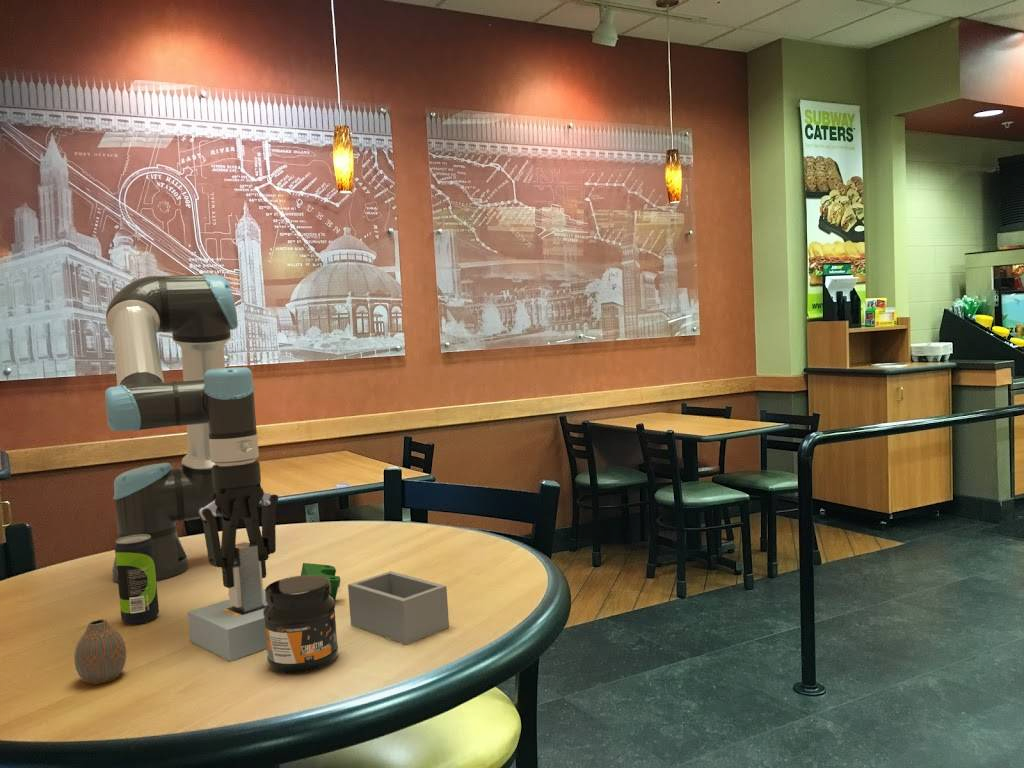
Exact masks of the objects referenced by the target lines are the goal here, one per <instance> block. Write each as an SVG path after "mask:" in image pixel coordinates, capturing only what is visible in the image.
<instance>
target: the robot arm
mask: <svg viewBox="0 0 1024 768" xmlns="http://www.w3.org/2000/svg"><path fill="white" fill-rule="evenodd" d="M234 299H235V298H234V294H233V291H232V288H231V285H230V283H229V281H228V279H227V277H224V276H222V275H217V274H213V275H212V274H205V273H203V274H182V275H161V276H160V275H149V276H145V277H141V278H138V279H135V280H133V281H131V282H130V283H128V284H127V285H125V286H124V287H122V288H121V289H120V290H119V291H118V292H117V293H116V294H115V295H114V296H113V297H112V298H111V301H110V302H109V304H108V306H107V308H106V313H105V321H106V328H107V331H108V332H109V334H110V336H112V337H113V339H112V340H113V349H114V350H113V351H114V362H115V373H116V374H115V375H116V386H111V387H108V388H106V390H105V392H104V394H105V395H104V397H105V409H106V420H107V426H108V429H110V430H111V431H113V432H123V431H124V432H126V431H128V432H129V431H133V432H136V431H137V432H138V431H141V430H150V429H157V428H158V429H159V428H160V429H161V428H168V427H180V426H186V435H187V436H186V437H187V449H188V452H187V454H186V455H184V456H183V457H182V459H181V467H178V468H173V466H172V465H171V463H169V462H162V463H153V464H147V465H144V466H141V467H140V466H139V467H136V468H134V469H130V470H127V471H124V472H122V473H120V474H119V475H118V476H116V477H115V479H114V482H113V491H114V493H113V496H112V497H113V498H112V499H113V500H114V501H115V502H114V503H115V516H116V527H117V537H118V538H117V539H119V538H122V537H126V536H131V535H139V534H147V535H150V536H151V538H150V539H151V540H152V541H153V551H154V562H155V573H156V581H160V580H164V579H168V578H172V577H174V576H177V575H180V574H183V573H184V572H185V571H187V570H188V569H189V560H188V559H189V558H188V555H187V553H186V551H185V549H184V547H183V544H182V542H181V540H180V538H179V536H178V532H177V530H178V529H177V523H178V522H184V521H191V520H192V521H193V520H198V519H200V520H201V522H202V526H203V533H204V534H203V535H204V539H205V546H206V553H207V557H208V563H209V565H210V566H212V567H213V566H214V567H216V568H221V573H222V584H223V586H224V587H225V588H227V589H228V596H229V599H228V600H230V605H233V606H235V607H241V606H242V601H241V589H240V577H239V567H237V566H234V557H235V545H236V544H237V543H236V542H237V527H238V525H239V520H240V519H241V520H243V522H244V525H245V529H246V534H247V537H248V538H247V539H248V543H250V544H254V545H257V547H258V559H259V572H260V584H261V596H262V600H264V594H263V589H264V584H263V579H265V578H266V577H267V567H266V566H267V565H266V561H268V559H269V558H270V557H269V555H271V554H274V553H276V550H277V548H276V545H277V543H276V541H277V540H276V539H277V538H276V537H277V536H276V530H277V529H276V528H277V527H276V508H277V505H278V501H279V496H278V494H274V493H267V492H265V491H264V489H263V487H262V486H261V481H262V479H261V478H262V477H261V465H260V462H259V460H257V458H258V457H259V456H260V455H259V454H260V453H259V442H258V431H257V419H256V417H257V416H256V403H255V402H256V401H255V390H256V389H255V384H254V380H253V372H252V370H251V369H250V368H248V367H244V366H243V367H241V366H240V367H239V366H237V367H226V364H225V363H226V362H225V361H226V360H225V345H226V344H227V342H229V341H230V340H231V339H232V336H231V330H232V331H234V330H235V329H236V330H237V328H238V326H239V324H238V315H237V309H236V304H235V303H236V302H235V300H234ZM157 333H171V334H172V341H173V342H174V343H175V344H177V346H179V347H180V350H181V351H180V352H181V353H180V354H181V363H182V365H181V366H182V367H181V368H182V377H183V379H182V380H183V381H171V382H169V381H167V382H165V379H164V373H163V367H162V366H163V365H162V361H161V354H160V348H159V341H158V337H157V336H158V335H157ZM260 504H261V528H260V523H259V520H260V519H259V513H258V508H259V506H260ZM216 517H221V524H222V527H221V528H222V529H221V541H220V535H219V529H218V524H217V519H216ZM114 556H115V555H114ZM111 569H112V573H111V574H112V580H113V582H116V583H118V577H117V567H116V556H115V557H114V560H113V565H112V568H111Z"/></svg>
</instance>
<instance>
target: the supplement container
mask: <svg viewBox="0 0 1024 768" xmlns="http://www.w3.org/2000/svg"><path fill="white" fill-rule="evenodd" d="M264 589H265V597H266V603H267V606H266V607H265V609H264V611H263V616H264V619H265V629H266V642H267V649H266V651H267V652H266V654H267V657H266V659H267V663H268V666H269V667H270V668H271V669H272V670H274V671H276V672H279V673H282V674H289V675H290V674H291V675H292V674H304V673H309V672H312V671H316V670H319V669H321V668H324V667H326V666H327V665H329V664H330V663H331V662H333V661H334V660H335V659H336V657H337V656H338V653H339V644H338V639H337V638H338V636H337V624H336V611H335V609H336V600H335V601H334V599H333V598H332V597H331V596H330V593H331V589H330V580H329V579H328V578H326V577H323V576H317V575H303V576H301V575H296V576H289V577H286V578H285V577H284V578H282V579H278V580H276V581H273V582H272V583H270V584H268V585H267V586H266V587H265V588H264Z"/></svg>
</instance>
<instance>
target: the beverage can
mask: <svg viewBox="0 0 1024 768" xmlns="http://www.w3.org/2000/svg"><path fill="white" fill-rule="evenodd" d="M150 538H151V536H150V535H147V534H139V535H131V536H126V537H122V538H119V539H118V538H117V539H115V544H116V545H115V546H114V554H115V555H114V556H116V567H117V577H118V582H117V584H118V585H117V586H118V587H117V588H118V597H119V607H120V617H121V618H120V619H121V621H122V622H124V624H126V625H129V624H130V625H131V626H133V625H135V624H136V625H141V624H146V623H150V622H152V621H154V620H155V619H156V618H157V617H158V615H159V612H160V609H159V607H160V605H159V596H158V587H157V580H156V573H155V562H154V551H153V541H152V540H151V539H150Z"/></svg>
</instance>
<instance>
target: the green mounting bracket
mask: <svg viewBox="0 0 1024 768" xmlns="http://www.w3.org/2000/svg"><path fill="white" fill-rule="evenodd" d="M336 573H337V569H336V567H335V566H333V565H330V564H329V565H328V564H318V563H309V562H303V563H302V565H301V572H300V576H303V575H317V576H323V577H326V578H328V579H329V580H330V589H331V593H330V596H331V597H332V598H333V599H334V601H335V602H336V601H337V593H338V589H339V588H340V585H341V580H342V579H341V577H340V576H339V575H336Z"/></svg>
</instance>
